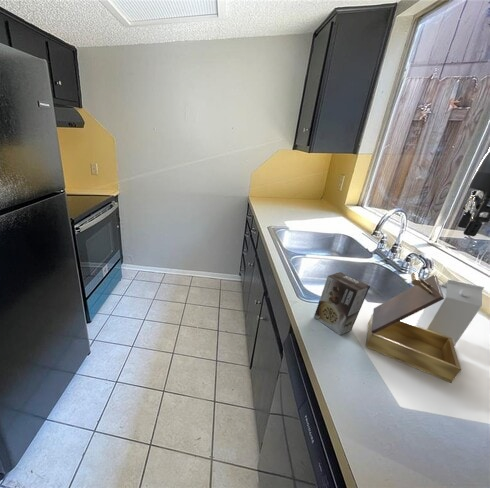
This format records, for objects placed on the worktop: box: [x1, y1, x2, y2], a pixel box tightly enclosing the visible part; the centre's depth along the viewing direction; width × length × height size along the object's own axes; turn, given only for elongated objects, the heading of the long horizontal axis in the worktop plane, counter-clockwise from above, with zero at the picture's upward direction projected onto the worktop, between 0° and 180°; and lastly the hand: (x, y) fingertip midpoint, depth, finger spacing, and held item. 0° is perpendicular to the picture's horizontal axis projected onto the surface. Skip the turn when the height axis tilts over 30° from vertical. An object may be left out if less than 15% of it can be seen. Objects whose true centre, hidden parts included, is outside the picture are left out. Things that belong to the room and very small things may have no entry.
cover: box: [371, 272, 444, 333], centre depth 71 cm, size 18×14×5 cm
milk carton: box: [415, 278, 485, 347], centre depth 75 cm, size 7×7×19 cm
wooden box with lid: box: [365, 313, 462, 384], centre depth 73 cm, size 18×14×5 cm
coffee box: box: [313, 271, 371, 336], centre depth 79 cm, size 9×6×16 cm
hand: (465, 231), depth 72 cm, fingers open, 8 cm apart
